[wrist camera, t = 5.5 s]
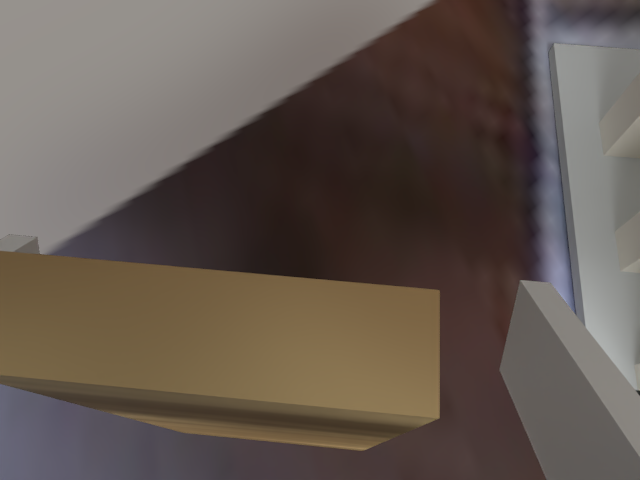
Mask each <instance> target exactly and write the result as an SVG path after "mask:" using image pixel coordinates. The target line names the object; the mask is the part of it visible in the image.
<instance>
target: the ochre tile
mask: <svg viewBox="0 0 640 480" xmlns="http://www.w3.org/2000/svg"><path fill="white" fill-rule="evenodd" d="M0 384H3V385H7V386H11V387H14V388H18V389H22V390H26V391H29V392H33V393H37V394H41V395H44V396H48V397H52V398H55V399H59V400H63V401H67V402H70V403H74V404H78V405H82V406H85V407H89V408H93V409H97V410H100V411H104V412H108V413H112V414H115V415H119V416H123V417H126V418H130V419H134V420H138V421H141V422H145V423H149V424H153V425H156V426H160V427H164V428H168V429H171V430H175V431H179V432H183V433H192V434H202V435H211V436H221V437H231V438H241V439H251V440H261V441H271V442H281V443H290V444H300V445H310V446H320V447H330V448H340V449H350V450H359V451H364V450H366V449H368V448H371V447H373V446H375V445H378V444H380V443H382V442H385V441H387V440H389V439H392V438H394V437H397V436H399V435H401V434H404V433H406V432H408V431H411V430H413V429H415V428H418V427H420V426H423V425H425V424H427V423H430V422H432V421H434V420H437V419H439V412H440V290H433V289H422V288H411V287H400V286H389V285H377V284H366V283H355V282H344V281H333V280H322V279H310V278H299V277H288V276H277V275H266V274H255V273H243V272H232V271H221V270H210V269H199V268H187V267H176V266H165V265H154V264H143V263H132V262H120V261H109V260H98V259H87V258H76V257H65V256H53V255H42V254H31V253H20V252H9V251H0Z"/></svg>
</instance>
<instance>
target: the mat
mask: <svg viewBox="0 0 640 480" xmlns="http://www.w3.org/2000/svg"><path fill="white" fill-rule="evenodd" d="M548 54H549V64H550V73H551V82H552V92H553V101H554V111H555V120H556V129H557V139H558V148H559V158H560V167H561V177H562V186H563V195H564V205H565V214H566V224H567V233H568V243H569V252H570V261H571V271H572V280H573V290H574V299H575V308H576V316H577V317H578V318H579V320H580V321H581V322H582V323H583V325H584V326H585V327H586V329H587V330H588V331H589V332H590V334H591V335H592V336H593V337H594V339H595V340H596V341H597V342H598V344H599V345H600V346H601V348H602V349H603V350H604V351H605V353H606V354H607V355H608V356H609V358H610V359H611V360H612V361H613V363H614V364H615V365H616V366H617V368H618V369H619V370H620V372H621V373H622V374H623V375H624V377H625V378H626V379H627V380H628V382H629V383H630V384H631V385H632V387H633V388H634V389H635V390H638V387H637V380H636V373H635V367H634V365H636V364H639V363H640V273H634V272H623V271H620V264H619V257H618V250H617V244H616V237H615V231H616V230H617V229H619V228H620V227H621V226H622V225H624V224H625V223H626V222H627V221H629V220H630V219H631V218H632V217H634V216H635V215H636V214H637V213H638V212H640V158H629V157H616V156H604V154H603V148H602V141H601V134H600V127H599V122H600V121H601V120H602V118H603V117H604V116H605V115H606V114H607V112H608V111H609V110H610V109H611V107H612V106H613V105H614V104H615V102H616V101H617V100H618V99H619V97H620V96H621V95H622V94H623V92H624V91H625V90H626V89H627V88H628V86H629V85H630V84H631V83H632V81H633V80H634V79H635V78H636V76H637V75H638V74H639V73H640V49H626V48H612V47H598V46H584V45H570V44H556V43H554V44H553V46H552V47H551V49H550V51H549V53H548Z"/></svg>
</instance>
